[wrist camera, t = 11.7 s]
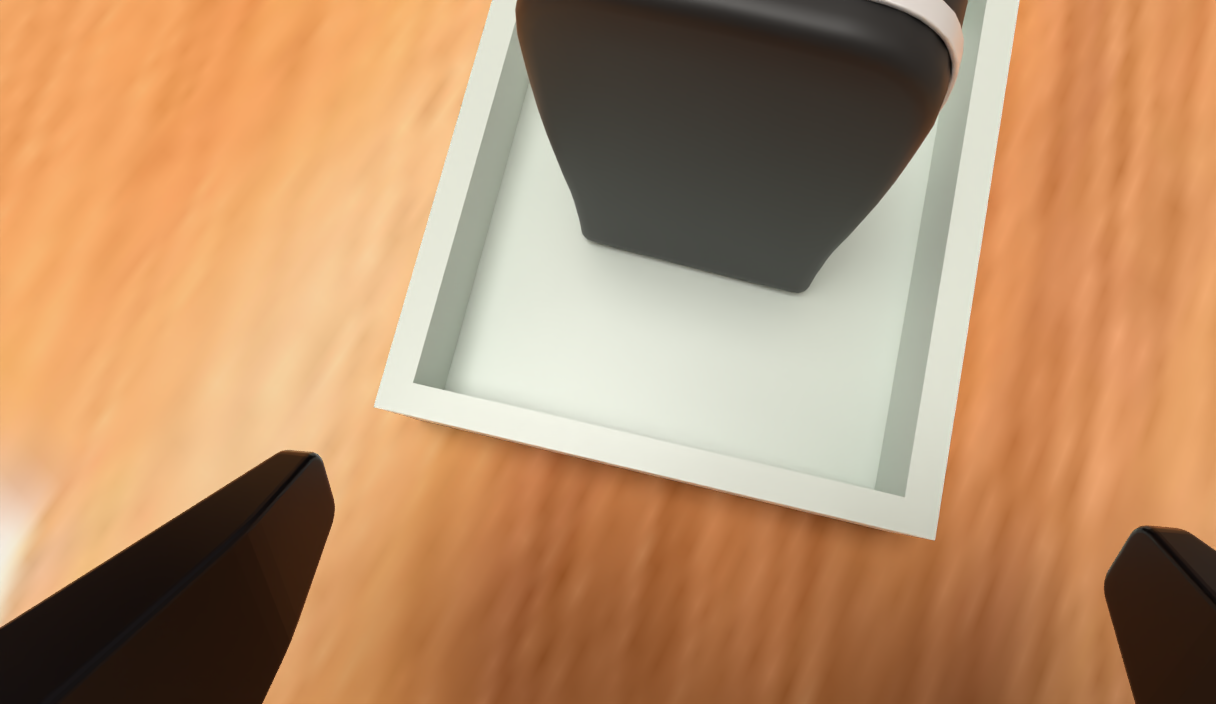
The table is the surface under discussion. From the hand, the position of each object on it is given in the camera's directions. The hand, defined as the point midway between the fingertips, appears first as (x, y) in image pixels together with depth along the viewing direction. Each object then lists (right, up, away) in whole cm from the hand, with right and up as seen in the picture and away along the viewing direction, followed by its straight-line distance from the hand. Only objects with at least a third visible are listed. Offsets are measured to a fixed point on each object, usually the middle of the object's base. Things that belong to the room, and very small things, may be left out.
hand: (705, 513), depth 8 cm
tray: (+2, +6, +14) cm, 15 cm away
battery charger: (+2, +6, +13) cm, 14 cm away
